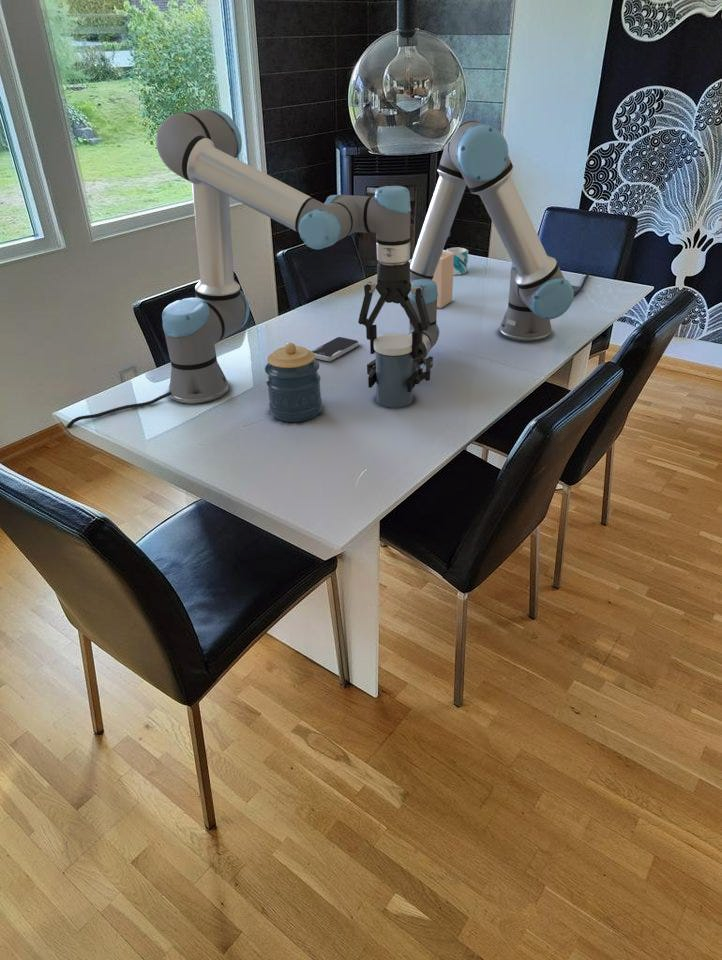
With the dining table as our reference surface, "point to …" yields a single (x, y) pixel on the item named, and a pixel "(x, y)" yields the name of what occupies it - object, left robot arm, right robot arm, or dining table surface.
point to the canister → (293, 384)
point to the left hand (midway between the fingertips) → (394, 354)
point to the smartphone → (334, 348)
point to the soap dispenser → (444, 278)
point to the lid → (393, 344)
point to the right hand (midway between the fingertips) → (389, 384)
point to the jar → (393, 380)
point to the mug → (459, 260)
